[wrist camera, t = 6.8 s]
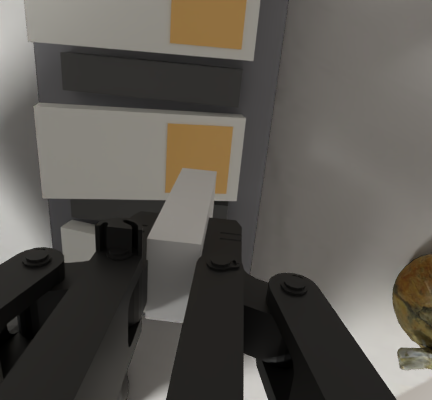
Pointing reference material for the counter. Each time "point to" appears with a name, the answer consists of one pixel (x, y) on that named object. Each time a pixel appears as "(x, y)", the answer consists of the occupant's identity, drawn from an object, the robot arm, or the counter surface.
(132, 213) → the rocker switch panel
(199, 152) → the block
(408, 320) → the onion
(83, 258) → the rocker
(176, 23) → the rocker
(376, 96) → the counter surface
